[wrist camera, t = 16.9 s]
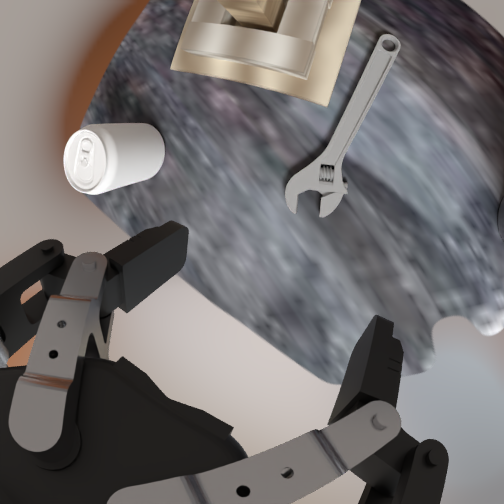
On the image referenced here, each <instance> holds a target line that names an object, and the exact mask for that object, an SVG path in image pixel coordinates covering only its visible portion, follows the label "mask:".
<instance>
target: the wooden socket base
mask: <svg viewBox="0 0 504 504" xmlns="http://www.w3.org/2000/svg"><path fill="white" fill-rule="evenodd" d="M360 2H361V0H283V3H284V5H285V9H284V12H283V15H282V19H281V22H280V25H279V28H278V31H277V33H273V32H268V31H263V30H257V29H251V28H245V27H242V25H241V24H240V23H239V22H238V21H237V20H236V19H235V18H234V17H233V16H232V15H231V14H230V13H229V12H228V11H227V10H226V9H225V8H224V7H223V6H222V5H221V4H220V3H219V2H218V1H217V0H194V2H193V4H192V7H191V10H190V12H189V15H188V18H187V20H186V23H185V26H184V29H183V31H182V34H181V37H180V40H179V43H178V46H177V49H176V52H175V55H174V58H173V61H172V65H171V68H170V69H172V70H175V71H181V72H188V73H194V74H200V75H206V76H211V77H217V78H222V79H226V80H231V81H236V82H240V83H245V84H249V85H253V86H257V87H261V88H265V89H269V90H272V91H276V92H280V93H283V94H287V95H290V96H294V97H297V98H300V99H303V100H306V101H310V102H313V103H316V104H319V105H322V106H325V107H328V104H329V101H330V98H331V95H332V92H333V89H334V86H335V83H336V80H337V77H338V74H339V70H340V67H341V64H342V61H343V58H344V55H345V51H346V48H347V45H348V42H349V39H350V35H351V32H352V29H353V26H354V22H355V19H356V16H357V12H358V9H359V6H360Z"/></svg>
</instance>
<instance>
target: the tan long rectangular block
mask: <svg viewBox="0 0 504 504" xmlns="http://www.w3.org/2000/svg"><path fill="white" fill-rule="evenodd" d="M217 1H218V2H219V3H220V4H221V5H222V6H223V7H224V8H225V9H226V10H227V11H228V12H229V13H230V14H231V15H232V16H233V17H234V18H235V19H236V20H237V21H238V22H239V23H240V24H241V25H242V27H245V28H251V29H257V30H263V31H268V32H273V33H277V31H278V28H279V25H280V22H281V19H282V15H283V12H284V9H285V5H284V3H283V0H217Z"/></svg>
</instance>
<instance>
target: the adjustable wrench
mask: <svg viewBox="0 0 504 504" xmlns="http://www.w3.org/2000/svg"><path fill="white" fill-rule="evenodd" d="M386 39H389V40H391V41H393V42H394V44H395V50H393V51H391V52H390V51H386V50H385V49H384V48H383V46H382V42H383V41H384V40H386ZM399 50H400V42H399V40H398V39H397V38H396V37H394V36H393V35H390V34H384V35H382V36H381V37H380V38H379V40H378V42H377V45H376V47H375V49H374V51H373V53H372V55H371V57H370V60H369V62H368V64H367V66H366V68H365V70H364V72H363V74H362V77H361V79H360V81H359V83H358V85H357V87H356V89H355V91H354V93H353V95H352V97H351V100H350V102H349V104H348V106H347V108H346V110H345V112H344V114H343V116H342V118H341V120H340V122H339V124H338V126H337V128H336V130H335V132H334V134H333V136H332V139H331V141H330V143H329V145H328V146H327V148H326V149H325V151H324V152H323V153H322V154H321V155H320V156H319V157H318V158H317V159H316V160H314V161H313V162H312V163H311V164H309V165H308V166H307V167H305V168H304V169H302V170H301V171H299V172H298V173H296V174H295V175H294V176H293V177H292V178H291V179H290V180H289V182H288V184H287V186H286V191H285V199H286V202H287V206H288V207H289V209H290V210H291V212H292V213H295V214H296V213H297V206H298V194H300V193H302V192H304V191H306V190H309V189H311V190H317V191H319V192H320V193H321V194H322V195H323V196H322V197H321V206H320V216H319V217H325V216H327V215H328V214H330V213H331V212H332V211H333V210H334V209H335V208H336V207H337V206H338V204H339V202H340V201H341V199H342V196H343V194H347V187H348V183H347V182H345V183H344V182H343V181H342V173H341V165H342V161H343V158H344V156H345V153H346V151H347V150H348V148H349V146H350V144H351V142H352V140H353V139H354V137H355V135H356V133H357V131H358V129H359V127H360V125H361V124H362V122H363V120H364V118H365V116H366V114H367V112H368V110H369V108H370V107H371V105H372V103H373V101H374V99H375V97H376V95H377V93H378V91H379V89H380V87H381V85H382V83H383V81H384V80H385V78H386V76H387V74H388V72H389V70H390V68H391V66H392V64H393V62H394V60H395V58H396V56H397V54H398V52H399ZM321 164H327V165H334V169H332V168H331V167H330V169H328V166H327V168H325V166H323V168H321ZM322 178H324V179H322ZM325 178H326V179H325ZM329 179H330V180H329ZM332 179H333V180H332Z"/></svg>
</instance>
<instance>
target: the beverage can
mask: <svg viewBox="0 0 504 504" xmlns="http://www.w3.org/2000/svg"><path fill="white" fill-rule="evenodd" d="M164 156H165V146H164V142H163V139H162V136H161V135H160V133H159V132H158V130H157V129H156V128H154V127H153V126H151V125H149V124H146V123H112V124H91V125H88V126H85V127H83V128H82V129H80V130H79V131H77V132H75V133H74V134H73V135H72V136H71V138H70V139H69V140H68V142H67V145H66V148H65V151H64V169H65V174H66V177H67V179H68V181H69V182H70V184H71V185H72V186H73V188H74V189H76V190H77V191H79V192H82V193H87V194H92V195H96V194H100V193H103V192H107V191H110V190H113V189H116V188H119V187H123V186H126V185H129V184H133V183H136V182H140V181H143V180H147V179H149V178H151V177H153V176H154V175H155V174H156V173H157V172H158V171H159V169H160V168H161V166H162V164H163V161H164Z"/></svg>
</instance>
